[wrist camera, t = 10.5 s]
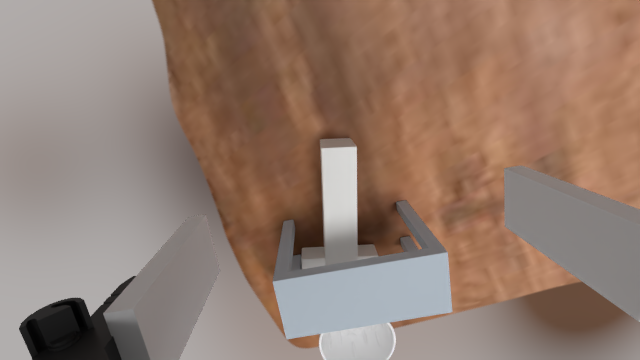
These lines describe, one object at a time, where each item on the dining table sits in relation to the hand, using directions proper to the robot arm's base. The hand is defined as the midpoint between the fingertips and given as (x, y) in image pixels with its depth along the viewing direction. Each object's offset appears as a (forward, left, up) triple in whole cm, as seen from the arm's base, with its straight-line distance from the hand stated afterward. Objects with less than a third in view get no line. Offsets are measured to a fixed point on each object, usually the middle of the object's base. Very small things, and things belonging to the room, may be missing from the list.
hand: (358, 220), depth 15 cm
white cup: (+20, -1, -26) cm, 33 cm away
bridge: (+13, 0, -25) cm, 28 cm away
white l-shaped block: (+9, 0, -25) cm, 27 cm away
